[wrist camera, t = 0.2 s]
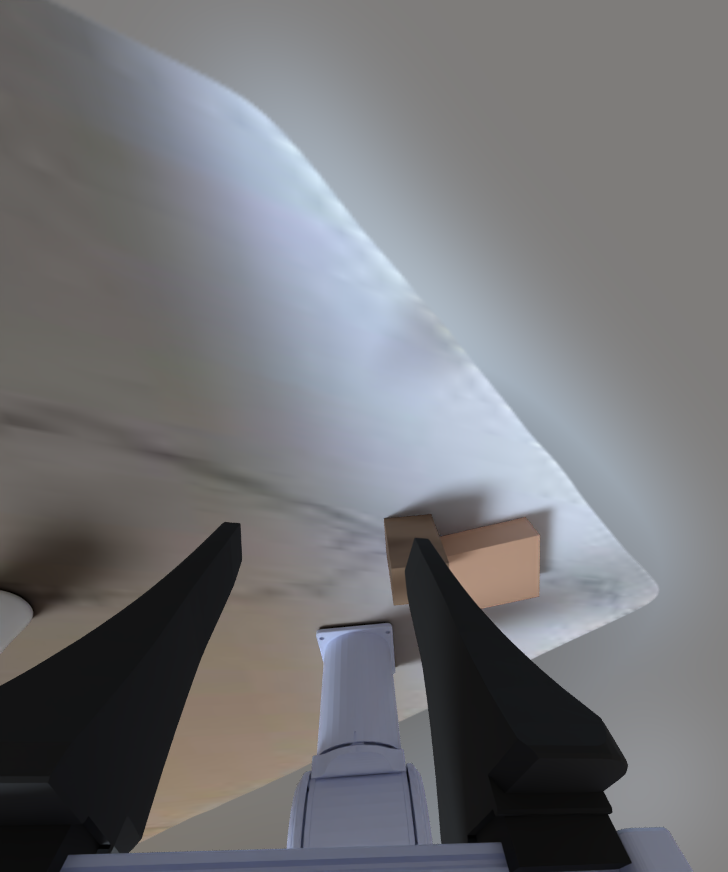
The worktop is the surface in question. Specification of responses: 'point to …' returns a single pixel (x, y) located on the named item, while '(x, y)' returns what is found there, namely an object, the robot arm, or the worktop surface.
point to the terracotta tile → (496, 561)
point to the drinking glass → (12, 617)
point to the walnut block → (407, 548)
